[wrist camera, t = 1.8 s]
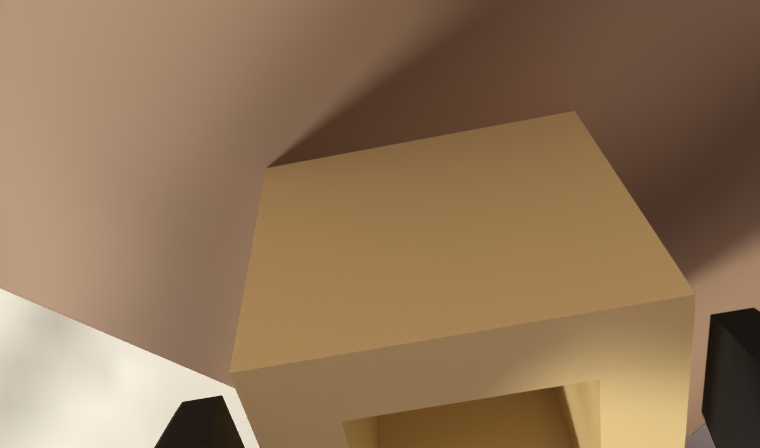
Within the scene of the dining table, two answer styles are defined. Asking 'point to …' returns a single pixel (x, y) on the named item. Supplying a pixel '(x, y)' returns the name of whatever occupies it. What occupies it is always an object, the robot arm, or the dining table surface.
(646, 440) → the square hole block
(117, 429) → the dining table surface
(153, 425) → the dining table surface
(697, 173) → the board
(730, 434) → the robot arm
